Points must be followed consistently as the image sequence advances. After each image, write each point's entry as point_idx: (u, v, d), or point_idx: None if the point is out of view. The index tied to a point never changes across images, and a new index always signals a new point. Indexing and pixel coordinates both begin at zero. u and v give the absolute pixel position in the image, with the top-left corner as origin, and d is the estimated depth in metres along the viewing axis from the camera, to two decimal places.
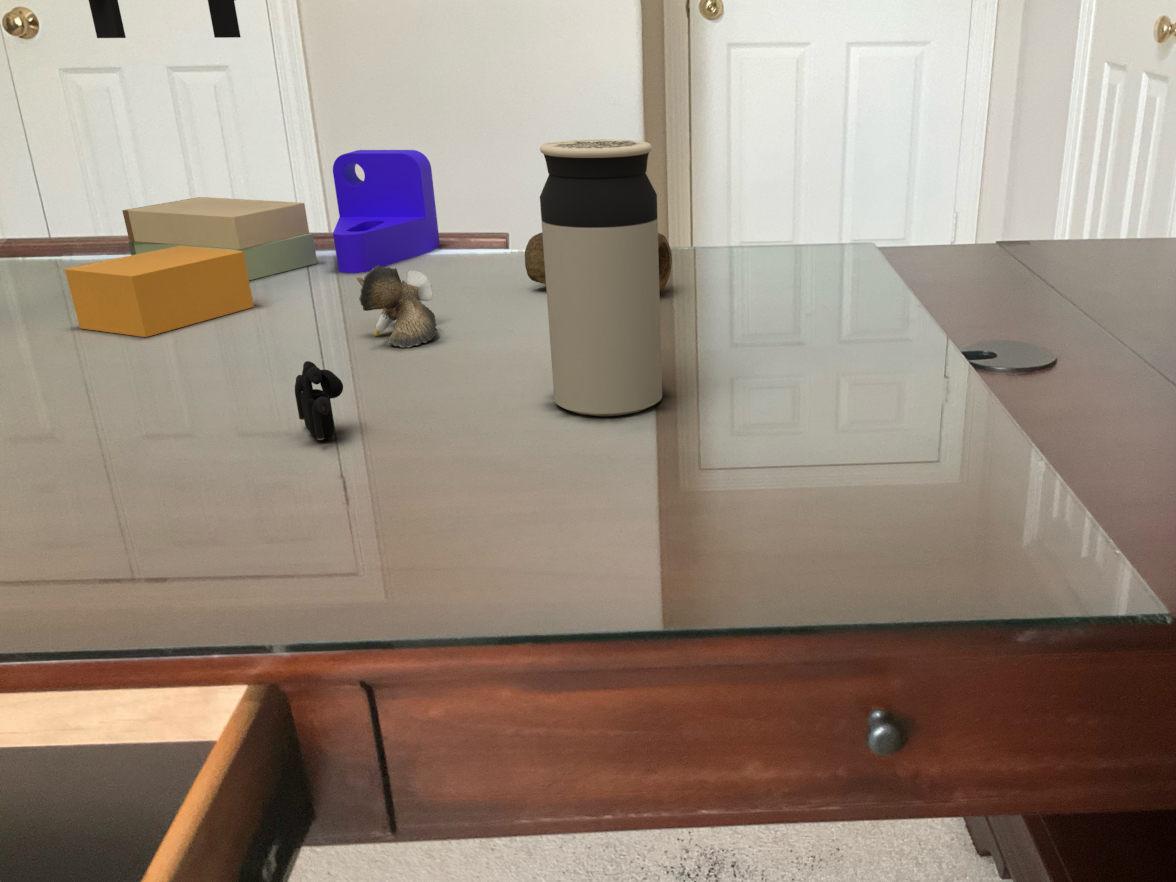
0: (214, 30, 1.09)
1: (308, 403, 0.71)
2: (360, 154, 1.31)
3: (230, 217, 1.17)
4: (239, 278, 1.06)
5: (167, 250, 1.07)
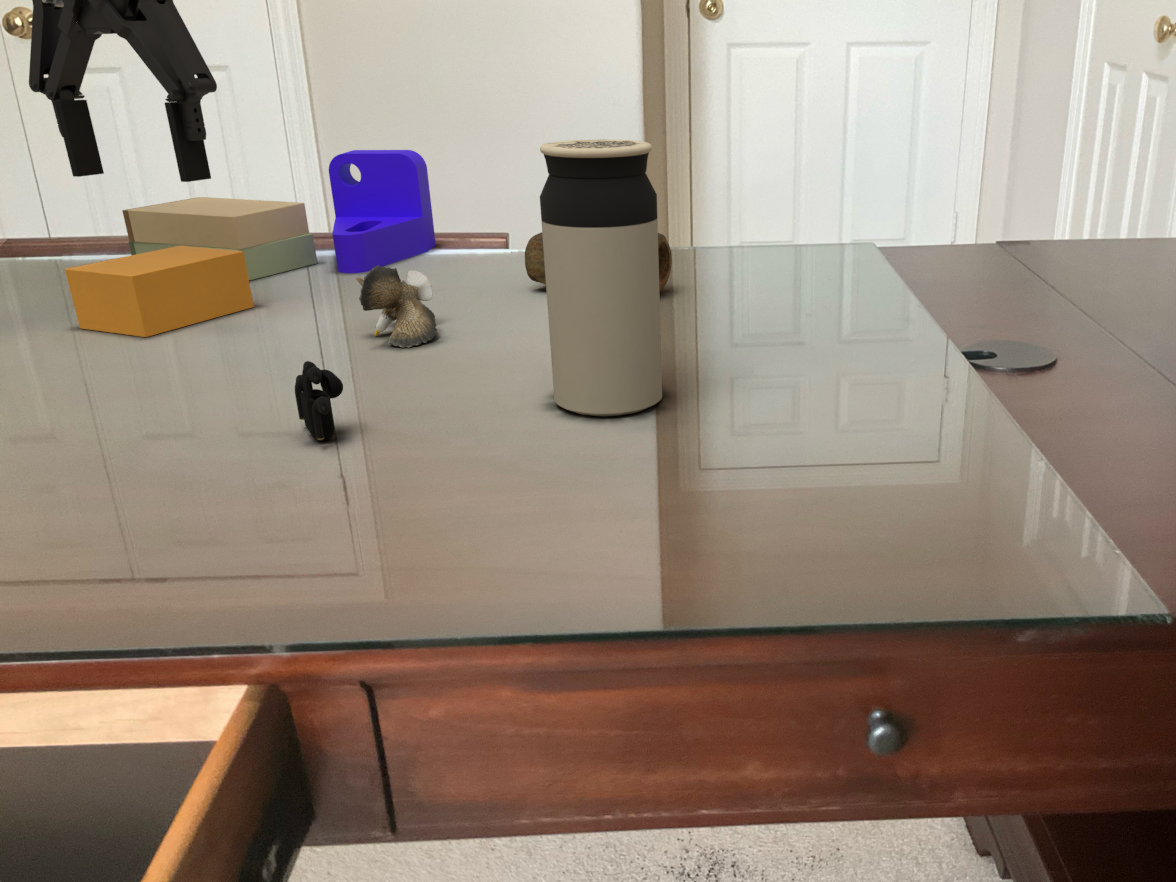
0: (78, 169, 1.00)
1: (308, 403, 0.71)
2: (356, 154, 1.31)
3: (230, 217, 1.17)
4: (239, 278, 1.06)
5: (167, 250, 1.07)
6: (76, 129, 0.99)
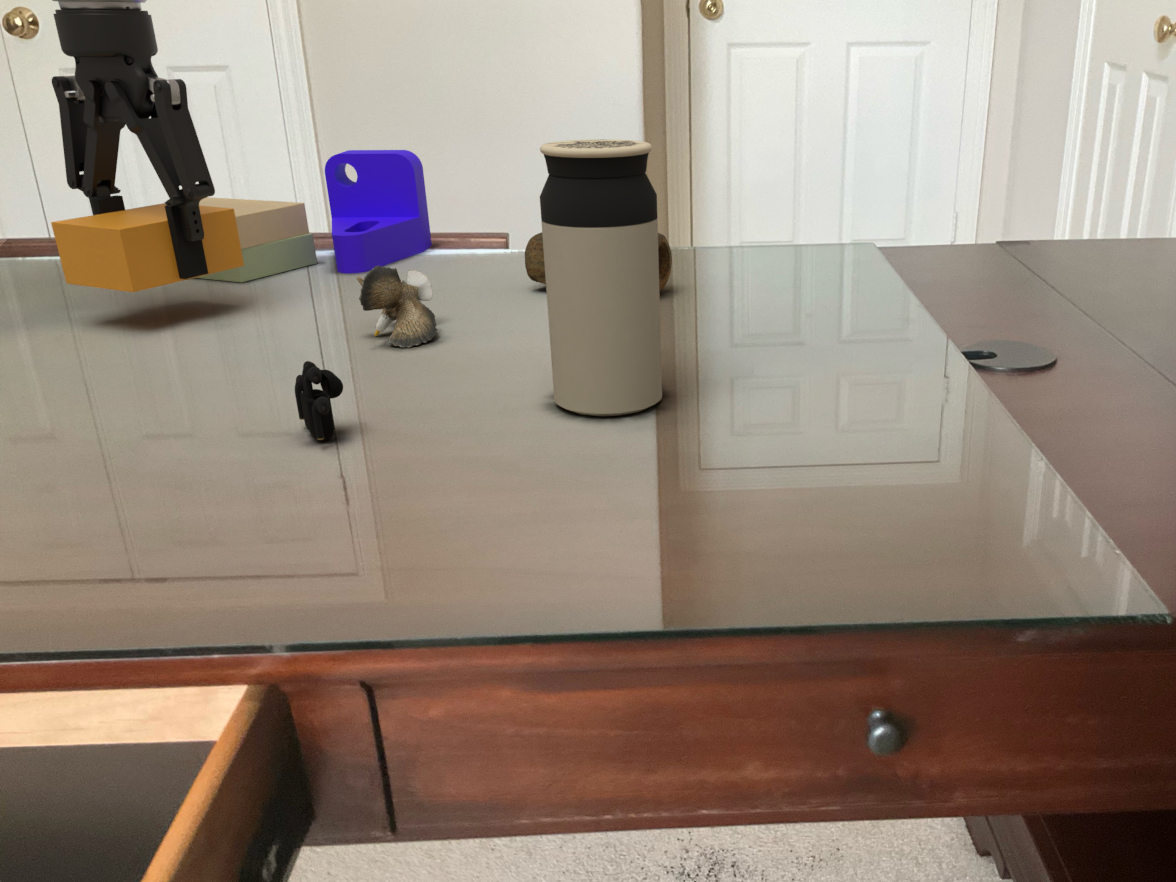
0: None
1: (308, 403, 0.71)
2: (353, 154, 1.31)
3: None
4: (229, 236, 1.05)
5: (156, 206, 1.05)
6: None
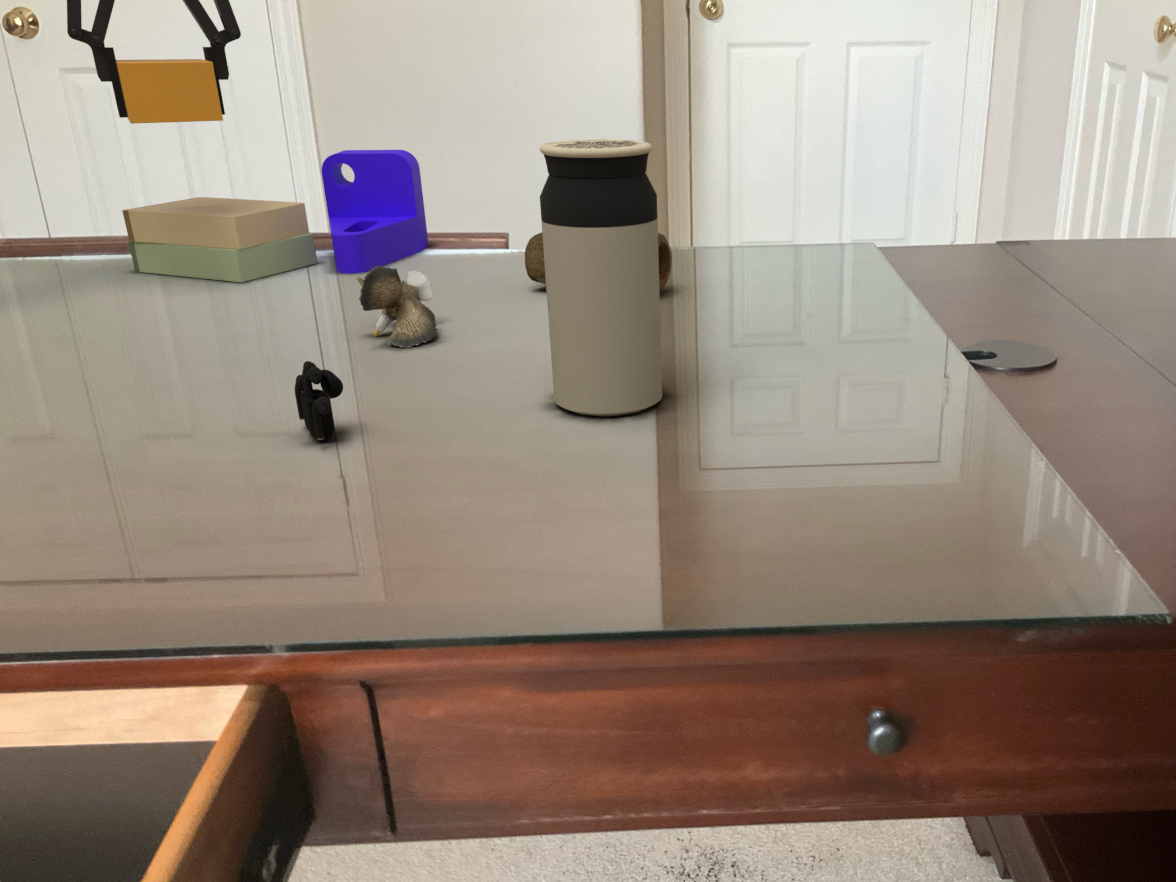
0: (126, 110, 1.10)
1: (308, 403, 0.71)
2: (350, 154, 1.31)
3: (230, 217, 1.17)
4: None
5: None
6: None
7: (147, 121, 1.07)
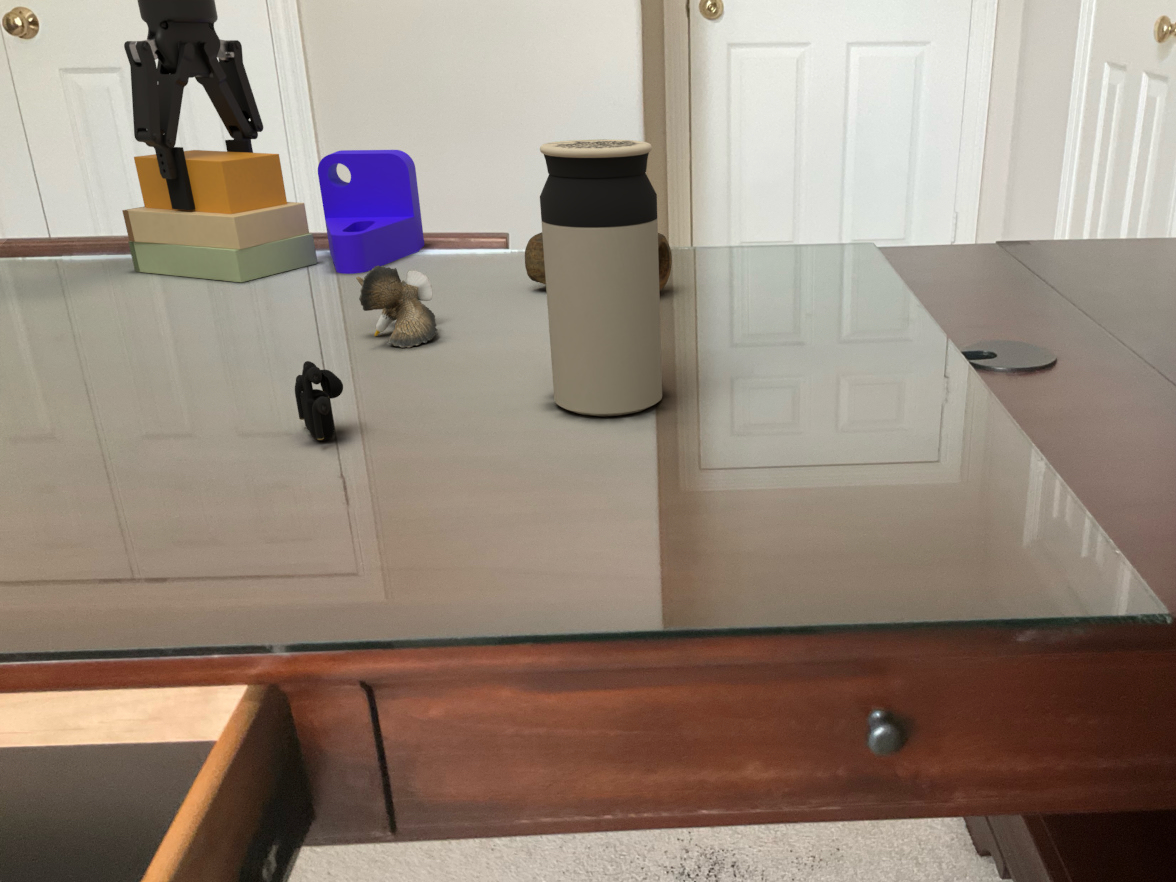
0: (193, 203, 1.20)
1: (308, 403, 0.71)
2: (346, 154, 1.31)
3: (230, 217, 1.17)
4: None
5: None
6: None
7: (241, 210, 1.19)
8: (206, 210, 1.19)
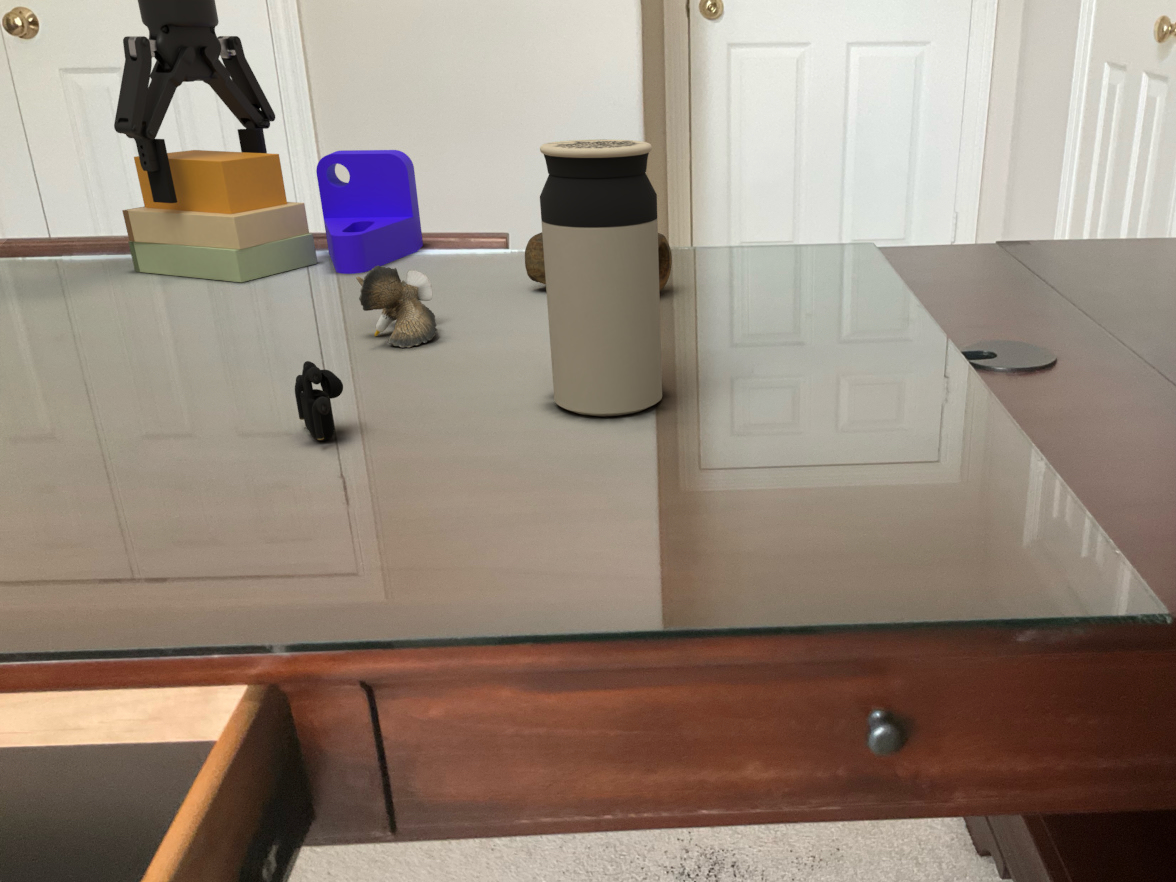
0: (174, 196, 1.17)
1: (308, 403, 0.71)
2: (345, 155, 1.31)
3: (230, 217, 1.17)
4: None
5: None
6: None
7: (241, 210, 1.19)
8: (206, 210, 1.19)
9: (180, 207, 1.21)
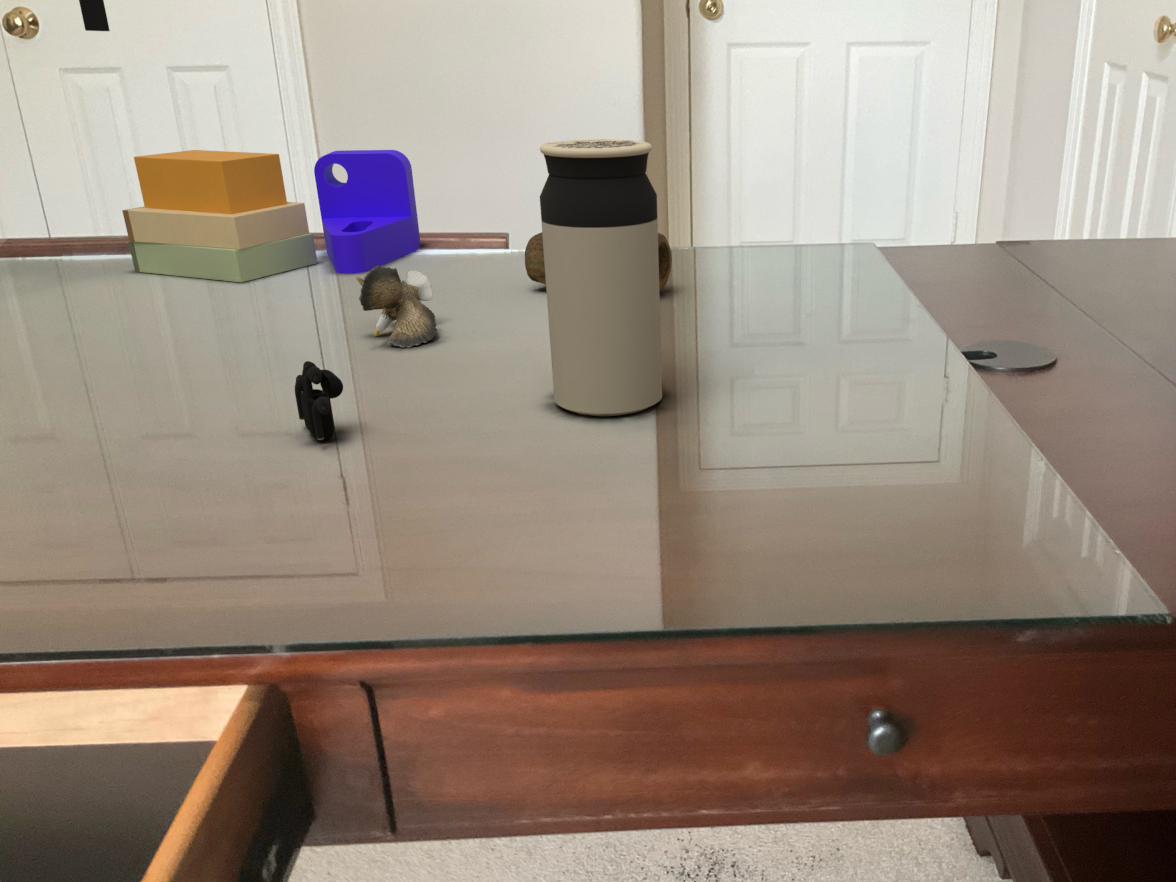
0: None
1: (308, 403, 0.71)
2: (343, 155, 1.31)
3: (230, 217, 1.17)
4: None
5: (158, 156, 1.21)
6: None
7: (241, 210, 1.19)
8: (206, 210, 1.19)
9: (180, 207, 1.21)
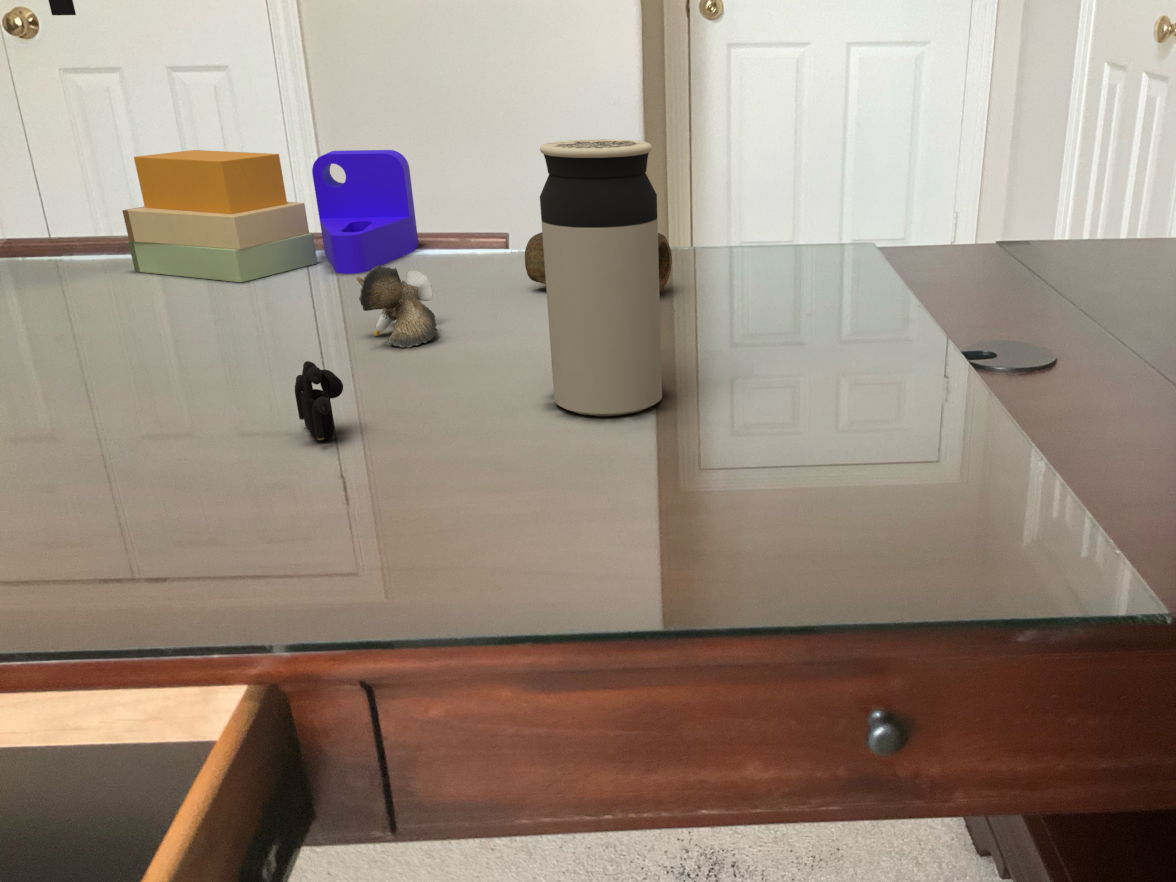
0: None
1: (308, 403, 0.71)
2: (341, 155, 1.31)
3: (230, 217, 1.17)
4: None
5: (158, 156, 1.21)
6: None
7: (241, 210, 1.19)
8: (206, 210, 1.19)
9: (180, 207, 1.21)
